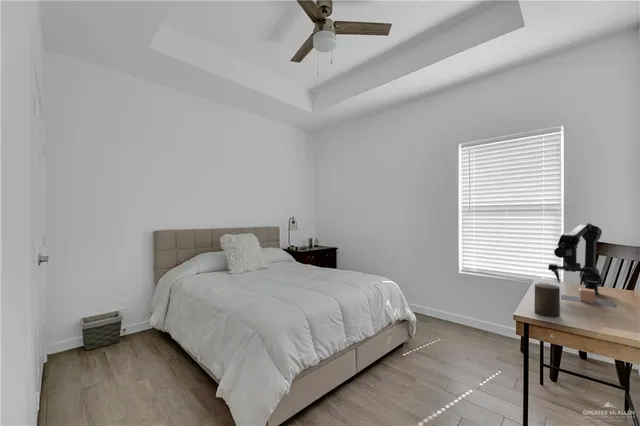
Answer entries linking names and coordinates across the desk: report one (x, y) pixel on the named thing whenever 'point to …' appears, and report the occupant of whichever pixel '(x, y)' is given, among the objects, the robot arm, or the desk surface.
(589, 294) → the cube
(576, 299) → the mat
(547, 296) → the pillar candle
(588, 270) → the robot arm
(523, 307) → the desk surface
